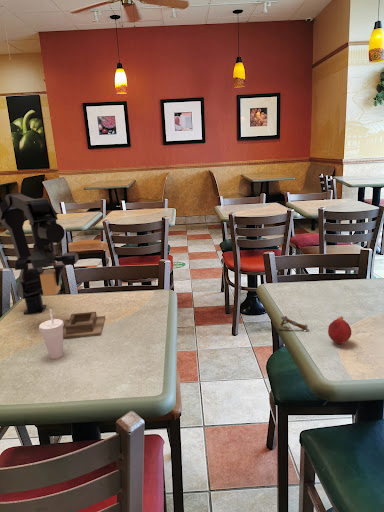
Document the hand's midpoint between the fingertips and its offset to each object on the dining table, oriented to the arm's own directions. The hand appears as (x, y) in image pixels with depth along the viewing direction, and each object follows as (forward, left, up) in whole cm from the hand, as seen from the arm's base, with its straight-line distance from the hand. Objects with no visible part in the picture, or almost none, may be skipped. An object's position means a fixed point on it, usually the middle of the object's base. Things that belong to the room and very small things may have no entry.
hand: (51, 286), depth 127 cm
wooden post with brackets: (+23, +73, -14) cm, 77 cm away
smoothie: (+22, +5, -14) cm, 26 cm away
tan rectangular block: (0, 0, -2) cm, 2 cm away
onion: (+33, +82, -14) cm, 89 cm away
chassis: (+5, +9, -13) cm, 17 cm away
